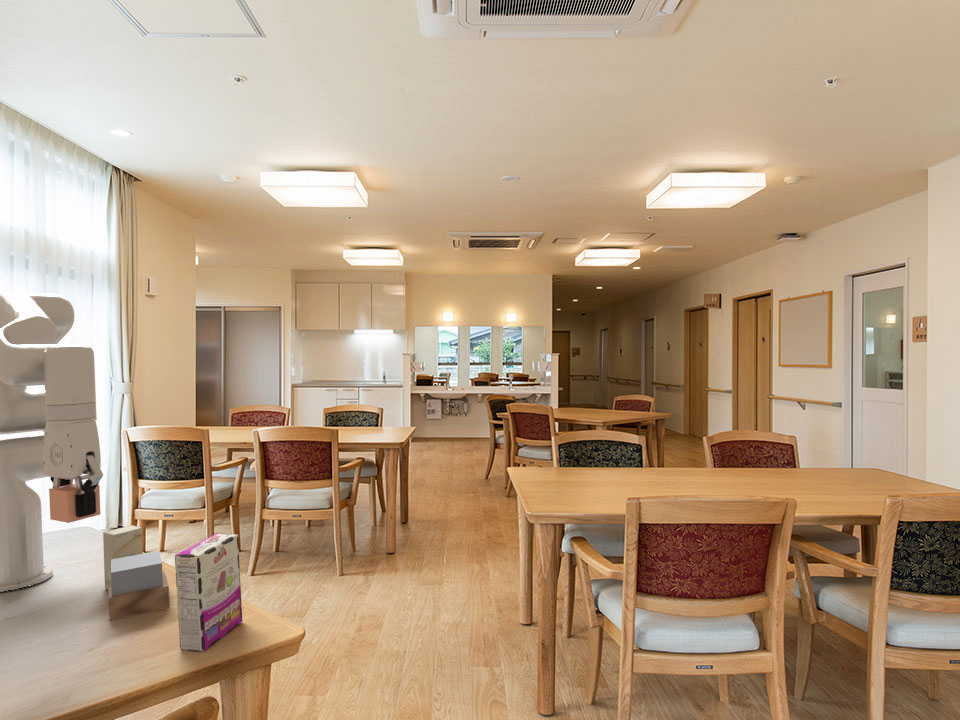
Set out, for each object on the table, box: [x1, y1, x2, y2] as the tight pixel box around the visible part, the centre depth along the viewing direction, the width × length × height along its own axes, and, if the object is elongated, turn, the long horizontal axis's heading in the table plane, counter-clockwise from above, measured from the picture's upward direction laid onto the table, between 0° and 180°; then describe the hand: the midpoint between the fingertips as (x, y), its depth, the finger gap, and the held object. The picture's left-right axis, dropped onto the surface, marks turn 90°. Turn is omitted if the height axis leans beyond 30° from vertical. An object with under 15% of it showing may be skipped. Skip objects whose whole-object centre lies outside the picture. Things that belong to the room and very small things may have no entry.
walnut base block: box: [107, 570, 170, 621], centre depth 118 cm, size 10×10×4 cm
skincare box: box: [102, 524, 144, 590], centre depth 128 cm, size 6×4×12 cm
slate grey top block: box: [111, 550, 163, 596], centre depth 118 cm, size 8×8×4 cm
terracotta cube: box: [48, 481, 101, 524], centre depth 108 cm, size 6×6×6 cm
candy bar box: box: [174, 533, 243, 653], centre depth 104 cm, size 11×5×16 cm, turn 168°
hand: (75, 512), depth 108 cm, fingers closed on terracotta cube, 5 cm apart
